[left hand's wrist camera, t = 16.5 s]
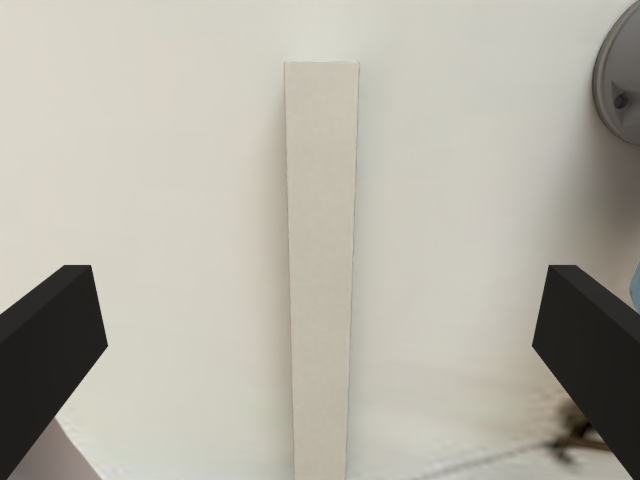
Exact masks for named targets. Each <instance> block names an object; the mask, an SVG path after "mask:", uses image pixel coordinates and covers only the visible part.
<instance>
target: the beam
mask: <svg viewBox="0 0 640 480" xmlns="http://www.w3.org/2000/svg"><path fill="white" fill-rule="evenodd" d="M359 64H360V63H359V62H310V61H285V62H284V83H285V123H286V162H287V202H288V241H289V281H290V321H291V360H292V400H293V439H294V479H295V480H346V455H347V425H348V395H349V365H350V335H351V305H352V275H353V245H354V215H355V185H356V154H357V124H358V94H359Z"/></svg>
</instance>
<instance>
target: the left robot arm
mask: <svg viewBox="0 0 640 480" xmlns="http://www.w3.org/2000/svg"><path fill="white" fill-rule="evenodd" d="M593 95H594V101H595V105H596V108H597V111H598V113H599V116H600V118H601V119H602V121H603V123H604V124H605V125H606V126H607V128H608V129H609V130H610V131H611V132H612V133H614V134H615V135H616V136H618V137H619V138H621V139H623V140H625V141H627V142H629V143H632V144H636V145H640V0H638V1H637V2H635V3H634V4H633V5H632V6H631V7H630V8H629V9H628V10H627V11H626V12H625V13H624V14H623V15H622V16H621V17H620V18H619V20H618V21H617V22H616V23H615V25H614V26H613V28H612V29H611V31H610V32H609V34H608V36H607V37H606V39H605V41H604V43H603V45H602V47H601V50H600V52H599V55H598V58H597V61H596V65H595V70H594V77H593ZM630 295H631V298H632V300H633V304H634V306H635V308H636V310H637V311H638V313H639V314H638V313H637V312H636V311H634V310H633V309H632V308H630V307H629V306H628V305H627V304H625V303H624V302H623V301H621V300H620V299H619V298H618V297H616V296H615V295H614V294H612V293H611V292H610V291H609V290H607V289H606V288H605V287H603V286H602V285H601V284H599V283H598V282H597V281H596V280H594V279H593V278H592V277H590V276H589V275H588V274H587V273H585V272H584V271H583V270H581V269H580V268H579V267H578V266H576V265H549V267H548V272H547V277H546V282H545V286H544V291H543V296H542V301H541V305H540V310H539V315H538V320H537V324H536V329H535V334H534V339H533V343H532V347H533V348H534V349H535V351H536V352H537V353H538V355H539V356H540V357H541V359H542V360H543V361H544V363H545V364H546V365H547V367H548V368H549V369H550V370H551V372H552V373H553V374H554V376H555V377H556V378H557V380H558V381H559V382H560V384H561V385H562V386H563V388H564V389H565V390H566V392H567V393H568V394H569V395H570V397H571V398H572V399H573V401H574V402H575V403H576V405H577V406H578V407H579V409H580V410H581V411H582V413H583V414H584V415H585V417H586V418H587V419H588V421H589V422H590V423H591V424H592V426H593V427H594V428H595V430H596V431H597V432H598V434H599V435H600V436H601V438H602V439H603V440H604V442H605V443H606V444H607V446H608V447H609V448H610V449H611V451H612V452H613V453H614V455H615V456H616V457H617V459H618V460H619V461H620V463H621V464H622V465H623V467H624V468H625V469H626V471H627V472H628V473H629V474H630V476H631V477H632V478H633V480H640V263H639V265H638V267H637V269H636V272H635V274H634V276H633V278H632V280H631V283H630ZM107 347H108V343H107V339H106V334H105V329H104V324H103V320H102V315H101V310H100V305H99V301H98V296H97V291H96V286H95V282H94V277H93V272H92V267H91V265H64V266H62V267H61V268H60V269H59V270H57V271H56V272H55V273H53V274H52V275H51V276H50V277H48V278H47V279H46V280H44V281H43V282H42V283H41V284H39V285H38V286H37V287H35V288H34V289H33V290H31V291H30V292H29V293H28V294H26V295H25V296H24V297H22V298H21V299H20V300H19V301H17V302H16V303H15V304H13V305H12V306H11V307H10V308H8V309H7V310H6V311H4V312H3V313H2V314H0V480H7V478H8V477H9V476H10V474H11V473H12V472H13V470H14V469H15V468H16V467H17V465H18V464H19V463H20V461H21V460H22V459H23V457H24V456H25V455H26V453H27V452H28V451H29V449H30V448H31V447H32V446H33V444H34V443H35V442H36V440H37V439H38V438H39V436H40V435H41V434H42V432H43V431H44V430H45V428H46V427H47V426H48V424H49V423H50V422H51V420H52V419H53V418H54V417H55V415H56V414H57V413H58V411H59V410H60V409H61V407H62V406H63V405H64V403H65V402H66V401H67V399H68V398H69V397H70V395H71V394H72V393H73V392H74V390H75V389H76V388H77V386H78V385H79V384H80V382H81V381H82V380H83V378H84V377H85V376H86V374H87V373H88V372H89V370H90V369H91V368H92V367H93V365H94V364H95V363H96V361H97V360H98V359H99V357H100V356H101V355H102V353H103V352H104V351H105V349H106V348H107Z"/></svg>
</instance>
